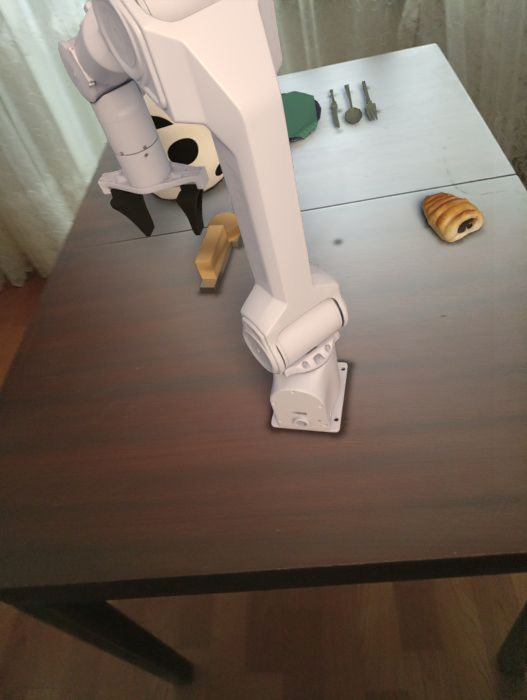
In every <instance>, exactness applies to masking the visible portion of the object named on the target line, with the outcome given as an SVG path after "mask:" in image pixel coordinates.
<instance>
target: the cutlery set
mask: <svg viewBox="0 0 527 700" xmlns="http://www.w3.org/2000/svg"><path fill="white" fill-rule="evenodd" d="M361 86H362V89H363V93H364V97H365V100H366V104H365V105H364V110H365V112H366V115H367V117H368V121H369V122H371V121H375V119H376V120H379V117H378V113H377V106H376V105H377V104H376V103H375V102H373V100H372V99H371V97H370V93H369V91H368V86H367V83H366V80H362V81H361ZM344 89H345V93H346V97H347V100H348V104H349V108H348V109H347V110H346V111H345V112H344V117H345V119H346V121H347V122H348V123H351V124H356V123H359V122H360V121H361V119H362V118H363V111H362V110H361V109H360V108H358V107H356V106H353V102H352V94H351V90H350V85H349V83H348V84H344ZM329 94H330V96H331V111H332V118H333V122H334V123H333V124H334V126H335V127H336V128H337V129H340V128H341V125H340V120H339V115H338V111H337V110H339V108H338V103H337V101H336V100H335V96H334V89H333V88H332V89H329ZM281 96H282V101H283V107H284V113H285V119H286V125H287V131H288V137H289V143H292V142H293V141H295V140H297V139H300V138H302V139H305V138H307V137H308V136H309V135H310V134H312V132H314V131H315V130H316V129H317V128H318V122H319V121H320V119H321V115H322V106H321V105H320V103H319V101H318V100H316V99H315V96H314V95H312V94H309V93H307V92H302V91H297V90H293V91H289V92H281Z"/></svg>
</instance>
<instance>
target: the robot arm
mask: <svg viewBox="0 0 527 700" xmlns="http://www.w3.org/2000/svg"><path fill="white" fill-rule="evenodd" d="M83 11H84V12H85V15H84V17H83V19H82V20H81V21H80V23H79V25H78V27H79V28H78V29H79V30H78V32H77V34H76V35H75V36H73V37H72V38H70V39H68V40H60V41H58V44H57V45H58V53H59V57H60V59H61V62H62V64H63V66H64V69H65V71H66V73H67V75H68V77H69V78H70V80H71V82H72V83H73V85H74V87H75V88H76V89H77V91H78V93H80V95H81V96H82V98H84V99H85V100H86V101H87V102H89V104H90V106H91V108H92V110H93V112H94V115H95V117H96V119H97V121H98V123H99V125H100V127H101V129H102V131H103V133H104V136H105V138H106V139H107V141H108V143H109V146H110V147H111V149H112V151H113V154H114V156H115V158H116V160H117V162H118V164H119V166H120V168H121V169H119V170H115V171H109V172H103V173H102V174H101V176H100V178H99V179H98V181H97V184H98V186H99V188H100V189H101V192H102V193H103V195H111V199H110V201H109V205H110V207H111V209H113V210H114V211H117V212H119V213H120V214H122V216H124V217H126V218H127V219H128V220H130V221H131V222H132V223H133V224H134V225H135V226H136V227H137V228H138V230H140V231H141V233H142V234H143V235H144V236H145V237H146V238H150V237H151V236H152V234H153V232H154V230H155V228H156V226H155V222H154V220H153V217H152V215H151V213H150V211H149V208H148V206H147V204H146V200H145V198H144V195H148V194H151V193H153V192H157V191H161V190H164V189H168V188H173V187H180V189H181V191H180V192H179V194H178V196H177V198H176V200H174V201H175V204H176V205H177V206H178V207H179V208H180V209H181V211H182V212H183V213H184V216H185V217H186V218H187V221H188V223H189V225H190V228H191V230H192V232H193V234H194V235H195V236H201V235H202V233H203V230H204V228H205V223H204V214H203V200H204V199H203V198H204V193H203V191H204V189H205V188H206V186H207V183H208V181H209V177H208V174H207V171H206V168H205V166H190V165H185V164H180V163H174V162H169V160H168V158H167V155H166V153H165V150H164V148H163V145H162V143H161V140H160V138H159V135H158V133H157V130H156V128H155V125H154V123H153V120H152V117H151V115H150V112H149V110H148V107H147V105H146V102H145V100H144V95H145V94H147V95H148V96H149V97H150V98H151V100H152V101H153V102H154V103H155V104H156V105H157V106H158V107H159V108H160V109H163V111H164V112H165V113H166V114H167V115H168V116H169V117H170V118H171V119H172V121H173V122H175V123H185V124H201V125H205V126H206V127H207V128H208V129H209V130H210V132H211V135H212V139H213V142H214V145H215V149H216V152H217V155H218V159H219V162H220V165H221V169H222V172H223V176H224V178H223V179H224V182H225V186H226V189H227V192H228V196H229V199H230V202H231V206H232V210H233V213H234V214H235V216H236V219H237V223H238V226H239V229H240V233H241V236H242V240H241V241H242V243H243V247H244V249H245V253H246V256H247V260H248V263H249V266H250V270H251V273H252V276H253V280H254V285H253V287H252V289H251V291H250V293H249V294H248V296H247V298H246V299H245V301H244V303H243V305H242V307H241V308H240V312H239V313H240V316H241V322H242V331H241V333H242V334H241V335H242V337H243V340H244V342H245V344H246V346H247V348H248V349H249V351H250V352H251V354H252V355H253V356H254V358H255V359H256V360H257V362H258V363H259V364H260V366H262V367H263V368H264V369H265V370H266V371H268V372H269V373H271V374H272V384H271V388H270V389H271V390H270V393H269V402H270V405H271V407H272V410H273V411H272V412H273V413H272V416H271V421H270V424H271V426H272V427H273V428H275V429H276V428H277V429H278V428H279V429H289V430H301V431H313V432H322V433H323V432H325V433H338V432H339V431H340V430H341V423H342V416H343V408H344V400H345V392H346V383H347V376H348V369H349V366H348V363H347V362H343V361H338V356H337V350H336V345H335V344H336V342H337V341H338V340H339V339H340V338H341V337H340V330H341V329H343V328H345V327H347V325H348V324H349V309H348V305H347V303H346V300H345V299H344V297H343V295H342V293H341V289H340V284H339V283H340V282H338V281H337V279H336V278H334V277H333V275H332V274H330V273H329V272H328V271H327V270H325V268H323V267H322V266H320V265H318V264H316V263H313V262H310V259H309V254H308V253H309V251H308V247H307V240H306V235H305V229H304V228H305V227H304V223H303V216H302V211H301V204H300V199H299V193H298V187H297V180H296V174H295V168H294V162H293V156H292V150H291V145H290V144H291V143H290V142H289V137H288V131H287V125H286V119H285V113H284V107H283V101H282V96H281V94H282V91H281V86H280V83H279V79H278V74H279V71H280V69H281V67H282V64H283V62H284V61H283V59H284V58H283V53H282V47H281V41H280V40H281V39H280V34H279V28H278V21H277V20H278V19H277V15H276V9H275V2H274V0H88V1H86V2H84V4H83Z"/></svg>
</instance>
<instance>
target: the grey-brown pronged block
mask: <svg viewBox="0 0 527 700" xmlns="http://www.w3.org/2000/svg"><path fill="white" fill-rule="evenodd" d="M242 241H243V240H242V236H241V234H240V235H239V237H237V238H236V239H235V240H233V241H231V242H229V246H228V248H227V251H226V254H225V257H224V260H223V263H222V266H221V268H220V271H219V274H218V277H217V279H202V278H201V282H200V284H199V289H200V292H201V293H202V294H203V293H204V294H207V293H209V294H211V293H212V294H216V293H218V289H219V286H220V284H221V281H222V278H223V275H224V272H225V270H226V267H227V265H228V264H227V263H228V260H229V258H230V255H231V251H232V249H233V248H240V246H241V244H242Z"/></svg>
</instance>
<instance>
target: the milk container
mask: <svg viewBox="0 0 527 700" xmlns="http://www.w3.org/2000/svg"><path fill="white" fill-rule="evenodd" d="M144 100H145V102H146V105H147V107H148V110H149V112H150V115H151V117H152V120H153V123H154V125H155V128H156V130H157V133H158V135H159V138H160V140H161V143H162V145H163V148H164V150H165V153H166V155H167V158H168V160H169V162H174V163H180V164H185V165H190V166H205V168H206V171H207V174H208V177H209V181H208V183H207V186H206V188H205V189H204V191H203V194H204V193H206V192H208V191H211V190H212V189H214V188H215V187H216V186H217V185H218V184H219V183H220V182H222V181H223V179H224V176H223V172H222V169H221V165H220V162H219V159H218V155H217V152H216V149H215V145H214V142H213V139H212V135H211V132H210V130H209V129H208V128H207V127H206V126H205V125H201V124H185V123H175V122H173V121H172V119H171V118H170V117H169V116H168V115H167V114H166V113H165V112H164V111H163V109H160V108H159V107H158V106H157V105H156V104H155V103H154V102H153V101H152V100H151V98H150V97H149V96H148V95H147V94H145V95H144ZM180 191H181V189H180V187H173V188H168V189H164V190H161V191H157V192H153V193H150V194H152V195H153V196H154V197H156V198H158V199H161V200H166V201H175V200H176V198H177V196H178V194H179V192H180Z"/></svg>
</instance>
